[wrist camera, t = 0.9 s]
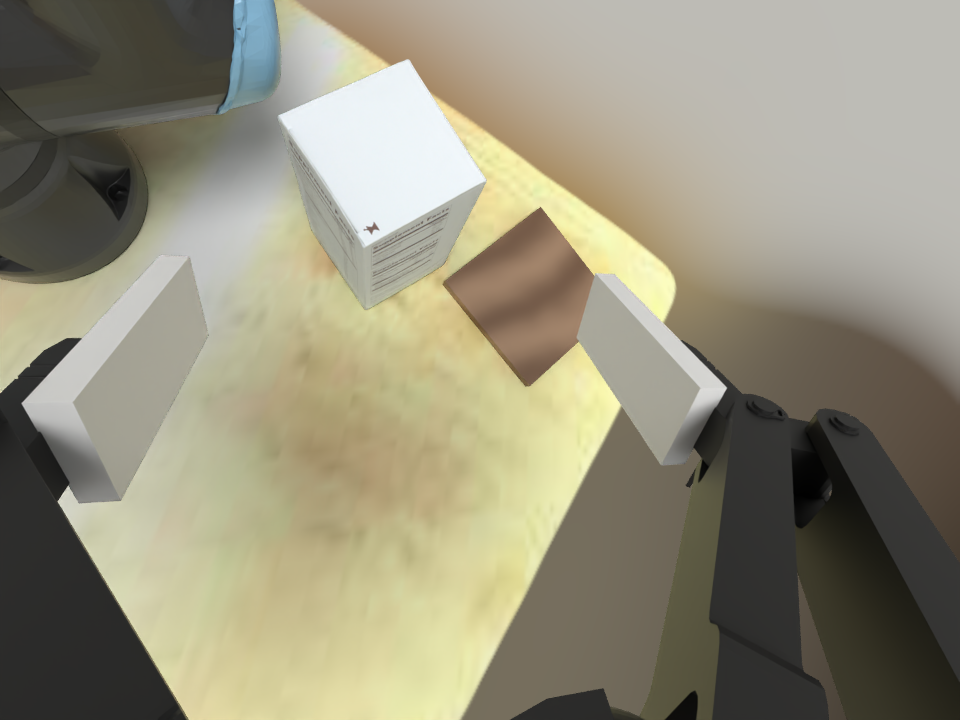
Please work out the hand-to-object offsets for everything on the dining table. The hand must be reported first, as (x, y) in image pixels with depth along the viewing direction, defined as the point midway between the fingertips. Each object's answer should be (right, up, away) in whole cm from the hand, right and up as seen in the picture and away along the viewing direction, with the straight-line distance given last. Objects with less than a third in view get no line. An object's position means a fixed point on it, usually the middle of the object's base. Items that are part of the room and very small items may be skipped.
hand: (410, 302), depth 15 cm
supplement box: (-7, +9, +28) cm, 30 cm away
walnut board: (+8, +4, +31) cm, 32 cm away
